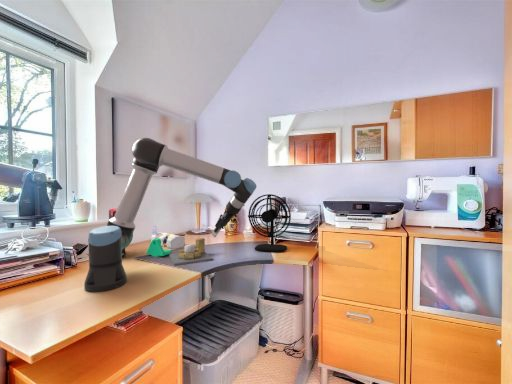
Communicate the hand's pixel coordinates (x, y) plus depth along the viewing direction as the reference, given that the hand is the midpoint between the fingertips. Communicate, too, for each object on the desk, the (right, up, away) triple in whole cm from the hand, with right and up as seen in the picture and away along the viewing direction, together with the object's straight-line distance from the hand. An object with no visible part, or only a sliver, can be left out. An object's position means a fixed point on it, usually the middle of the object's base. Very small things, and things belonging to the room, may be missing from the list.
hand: (213, 235), depth 142 cm
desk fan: (+33, -12, +18) cm, 40 cm away
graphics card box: (-58, -13, +8) cm, 60 cm away
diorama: (-37, -13, +33) cm, 51 cm away
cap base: (-13, -13, +1) cm, 19 cm away
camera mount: (-33, -13, +8) cm, 37 cm away
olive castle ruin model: (-12, -12, +3) cm, 17 cm away
